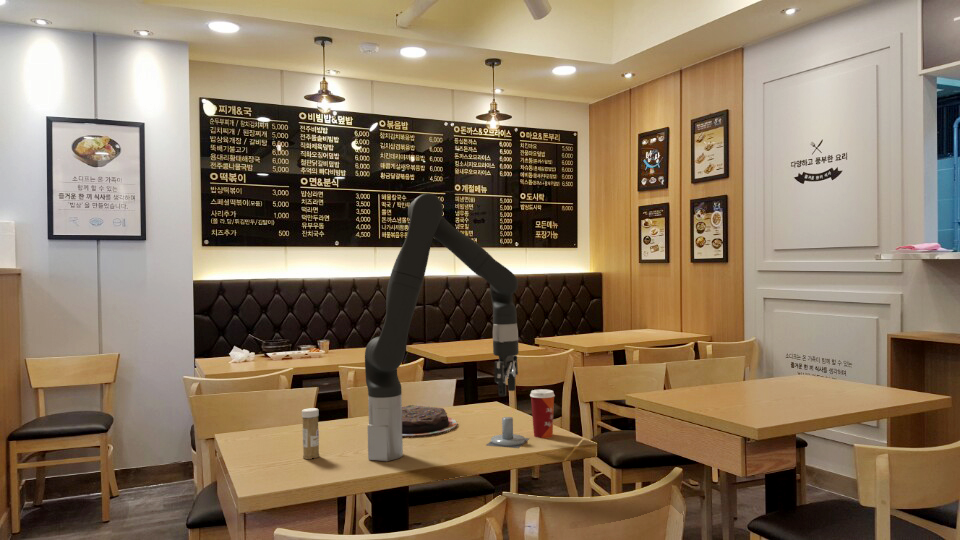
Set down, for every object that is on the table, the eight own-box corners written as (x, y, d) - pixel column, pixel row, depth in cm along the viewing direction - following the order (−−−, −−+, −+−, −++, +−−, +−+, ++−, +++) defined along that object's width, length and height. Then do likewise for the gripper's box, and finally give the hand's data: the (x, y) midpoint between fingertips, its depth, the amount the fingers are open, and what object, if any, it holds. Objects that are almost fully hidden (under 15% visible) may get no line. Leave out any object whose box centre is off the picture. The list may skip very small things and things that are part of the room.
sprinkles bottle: (319, 458, 176) (318, 410, 176) (302, 460, 175) (301, 411, 175) (319, 454, 181) (318, 407, 181) (303, 455, 180) (302, 408, 180)
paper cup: (554, 440, 190) (553, 393, 190) (529, 439, 192) (528, 393, 192) (556, 433, 198) (555, 389, 198) (532, 433, 199) (531, 388, 199)
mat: (518, 449, 181) (518, 448, 181) (485, 446, 185) (485, 445, 185) (529, 439, 192) (529, 438, 192) (498, 437, 195) (498, 435, 195)
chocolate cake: (425, 443, 192) (425, 421, 192) (354, 433, 206) (354, 412, 206) (472, 423, 216) (472, 404, 216) (406, 415, 230) (406, 397, 230)
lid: (518, 447, 182) (518, 423, 182) (486, 444, 186) (485, 420, 186) (529, 438, 191) (528, 415, 191) (497, 436, 195) (497, 413, 195)
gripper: (501, 336, 197) (503, 388, 197) (485, 341, 183) (486, 397, 183) (524, 336, 194) (526, 389, 194) (509, 341, 181) (511, 398, 181)
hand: (507, 393), depth 189 cm, fingers open, 8 cm apart
